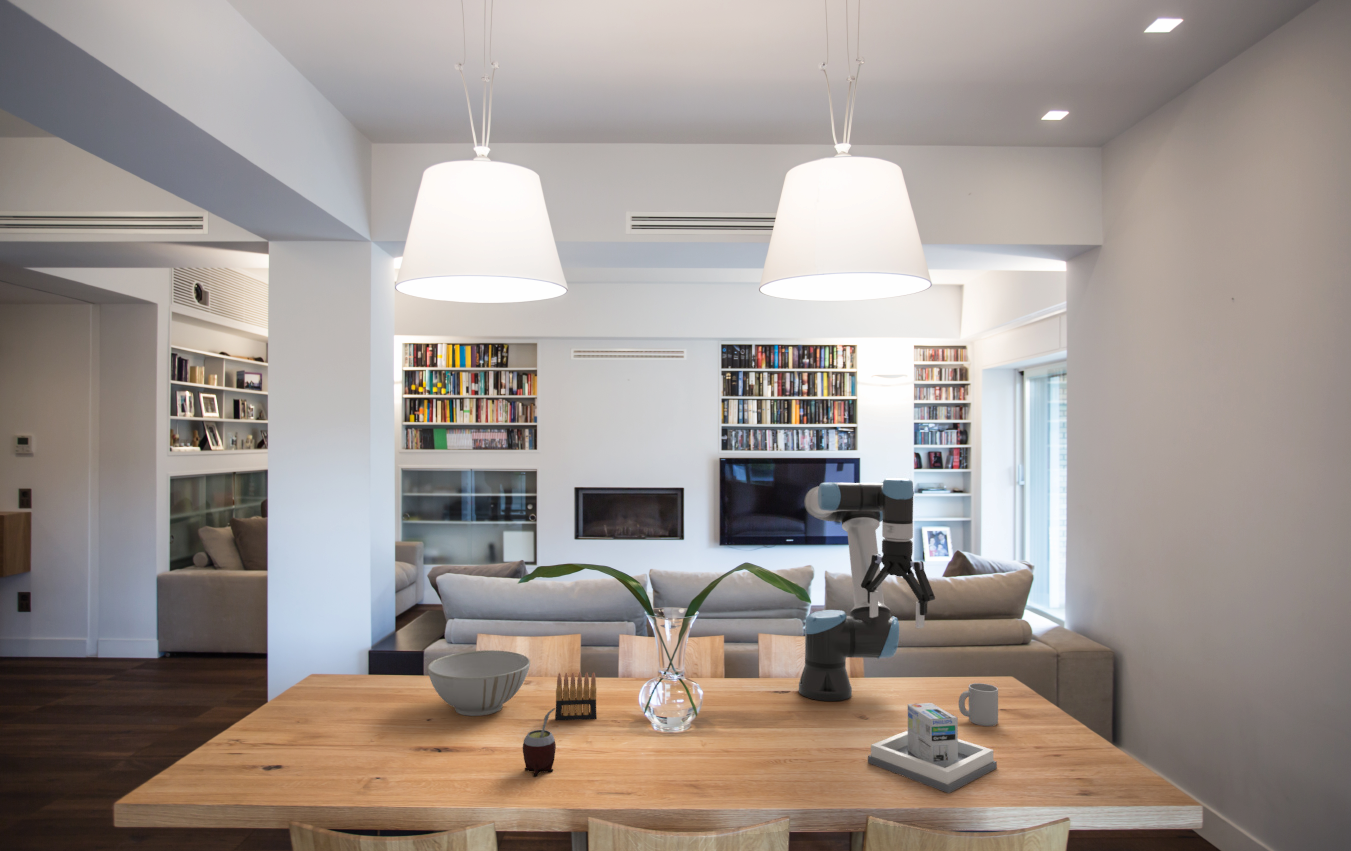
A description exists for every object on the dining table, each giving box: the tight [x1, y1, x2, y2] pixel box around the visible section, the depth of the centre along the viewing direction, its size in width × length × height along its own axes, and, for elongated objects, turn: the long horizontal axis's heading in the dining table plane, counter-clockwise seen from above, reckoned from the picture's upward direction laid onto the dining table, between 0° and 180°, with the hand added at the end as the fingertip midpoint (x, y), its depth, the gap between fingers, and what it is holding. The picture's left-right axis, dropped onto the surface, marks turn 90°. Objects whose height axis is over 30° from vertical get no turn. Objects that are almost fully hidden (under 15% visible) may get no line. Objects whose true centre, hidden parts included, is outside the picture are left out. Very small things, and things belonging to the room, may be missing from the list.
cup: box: [958, 682, 999, 727], centre depth 203 cm, size 7×10×9 cm
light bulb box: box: [907, 702, 959, 767], centre depth 175 cm, size 11×7×11 cm, turn 13°
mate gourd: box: [522, 707, 557, 778], centre depth 169 cm, size 8×8×15 cm
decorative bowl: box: [427, 649, 531, 717], centre depth 209 cm, size 27×27×12 cm
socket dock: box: [867, 729, 998, 794], centre depth 174 cm, size 20×20×4 cm
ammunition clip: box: [554, 671, 598, 722], centre depth 202 cm, size 11×2×12 cm, turn 98°
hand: (896, 622), depth 198 cm, fingers open, 13 cm apart
